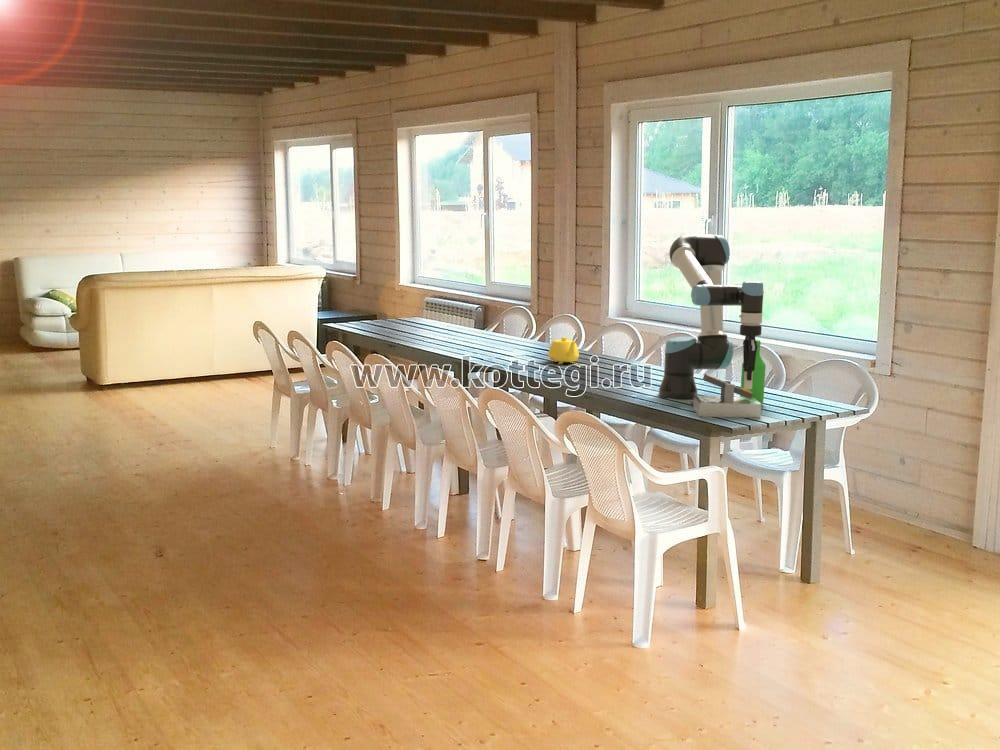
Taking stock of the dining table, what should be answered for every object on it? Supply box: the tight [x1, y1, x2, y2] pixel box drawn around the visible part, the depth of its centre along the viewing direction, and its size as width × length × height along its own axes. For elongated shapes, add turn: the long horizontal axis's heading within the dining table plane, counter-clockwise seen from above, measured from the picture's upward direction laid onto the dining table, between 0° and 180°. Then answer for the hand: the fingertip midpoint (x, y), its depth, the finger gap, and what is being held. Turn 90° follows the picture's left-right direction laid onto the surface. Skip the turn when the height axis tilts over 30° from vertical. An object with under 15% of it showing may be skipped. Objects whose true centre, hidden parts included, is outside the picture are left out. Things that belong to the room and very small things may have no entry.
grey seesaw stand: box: [692, 380, 762, 419], centre depth 370 cm, size 14×22×11 cm, turn 88°
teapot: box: [548, 336, 580, 364], centre depth 481 cm, size 13×20×12 cm
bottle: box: [739, 339, 767, 406], centre depth 386 cm, size 9×9×25 cm
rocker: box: [702, 373, 753, 399], centre depth 369 cm, size 6×18×2 cm, turn 88°
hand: (747, 388), depth 369 cm, fingers closed
